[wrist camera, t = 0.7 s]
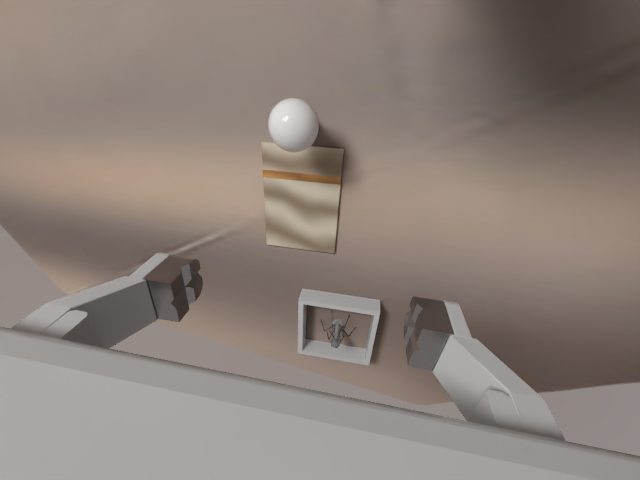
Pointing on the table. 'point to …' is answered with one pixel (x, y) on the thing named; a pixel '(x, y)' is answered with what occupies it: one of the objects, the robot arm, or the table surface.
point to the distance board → (302, 196)
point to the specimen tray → (337, 303)
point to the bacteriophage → (336, 332)
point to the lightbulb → (293, 125)
